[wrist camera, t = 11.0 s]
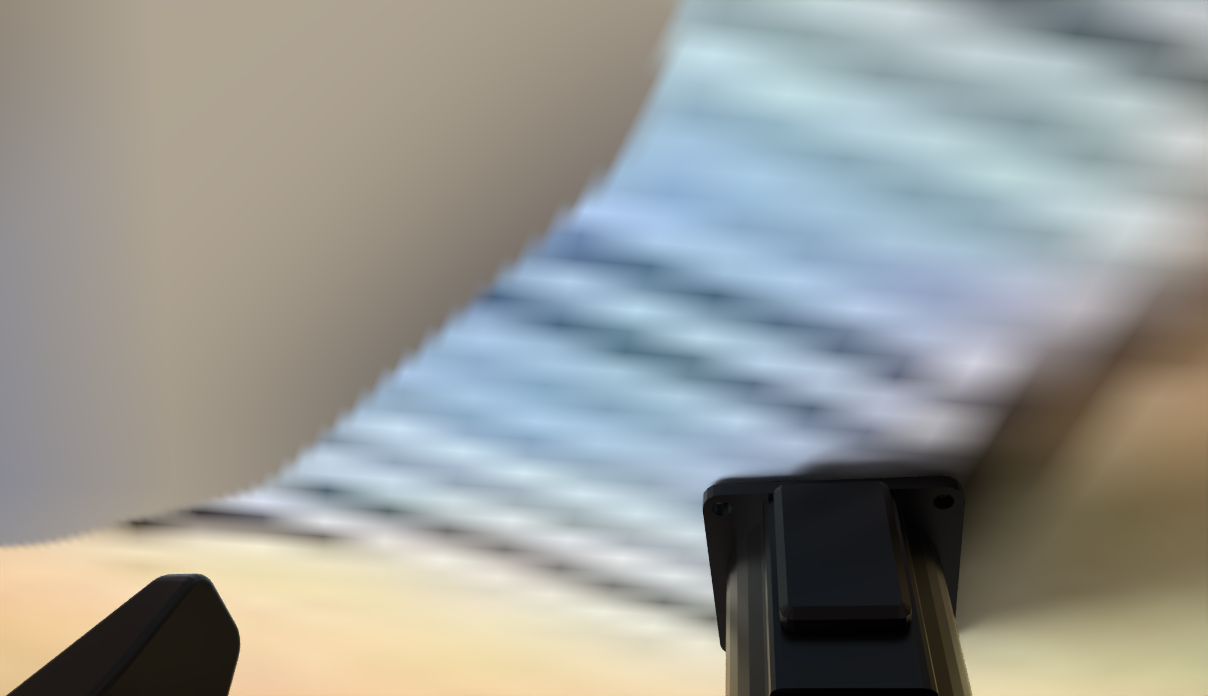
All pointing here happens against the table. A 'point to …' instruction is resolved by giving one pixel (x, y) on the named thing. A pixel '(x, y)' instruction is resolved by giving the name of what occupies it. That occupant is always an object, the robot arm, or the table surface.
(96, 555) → the table surface
